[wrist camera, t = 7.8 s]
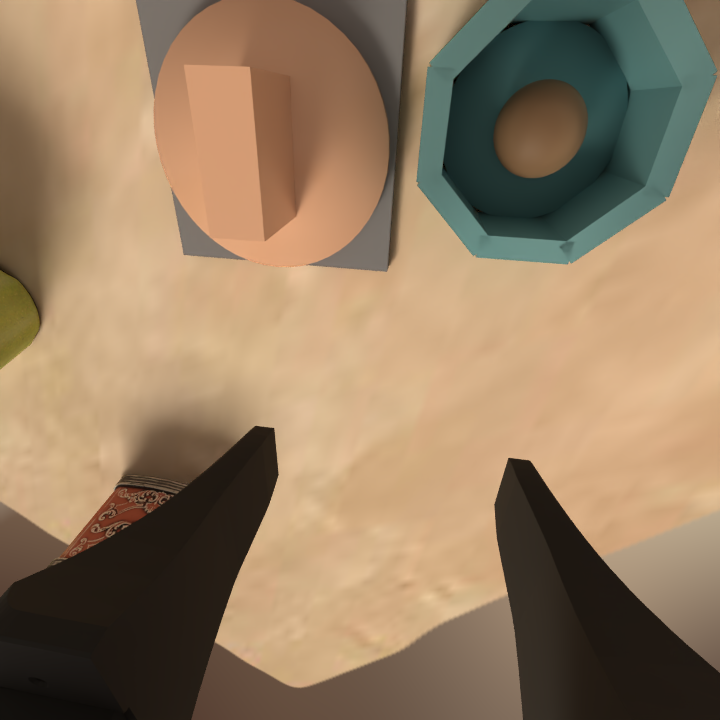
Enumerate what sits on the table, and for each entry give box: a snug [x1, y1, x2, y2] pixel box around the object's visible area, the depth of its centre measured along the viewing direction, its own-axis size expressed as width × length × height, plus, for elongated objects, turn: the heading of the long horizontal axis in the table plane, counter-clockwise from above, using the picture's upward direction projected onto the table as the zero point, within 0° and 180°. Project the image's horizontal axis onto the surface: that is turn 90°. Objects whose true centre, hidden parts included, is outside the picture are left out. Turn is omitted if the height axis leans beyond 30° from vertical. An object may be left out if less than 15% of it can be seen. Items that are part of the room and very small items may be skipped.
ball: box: [493, 79, 588, 178], centre depth 14 cm, size 3×3×3 cm
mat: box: [136, 0, 407, 272], centre depth 18 cm, size 10×10×1 cm
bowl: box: [417, 0, 717, 264], centre depth 15 cm, size 8×8×4 cm
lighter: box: [47, 475, 187, 568], centre depth 27 cm, size 8×3×10 cm, turn 81°
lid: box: [154, 0, 390, 267], centre depth 15 cm, size 10×10×5 cm
